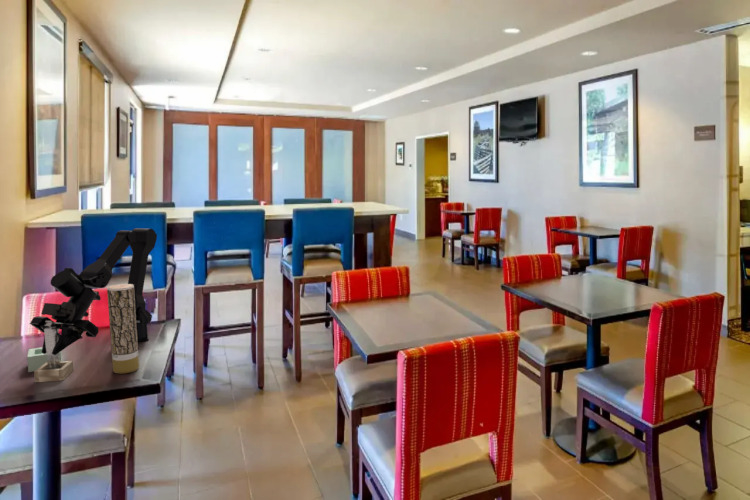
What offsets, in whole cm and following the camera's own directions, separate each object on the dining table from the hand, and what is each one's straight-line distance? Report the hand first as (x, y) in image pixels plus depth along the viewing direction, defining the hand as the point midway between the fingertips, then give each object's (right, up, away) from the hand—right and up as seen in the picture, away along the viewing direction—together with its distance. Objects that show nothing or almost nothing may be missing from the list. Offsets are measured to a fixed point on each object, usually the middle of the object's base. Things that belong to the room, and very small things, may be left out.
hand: (48, 353), depth 132 cm
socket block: (-8, -6, +11) cm, 14 cm away
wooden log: (+18, -7, +7) cm, 20 cm away
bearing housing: (0, -7, +2) cm, 7 cm away
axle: (0, -7, +2) cm, 7 cm away
